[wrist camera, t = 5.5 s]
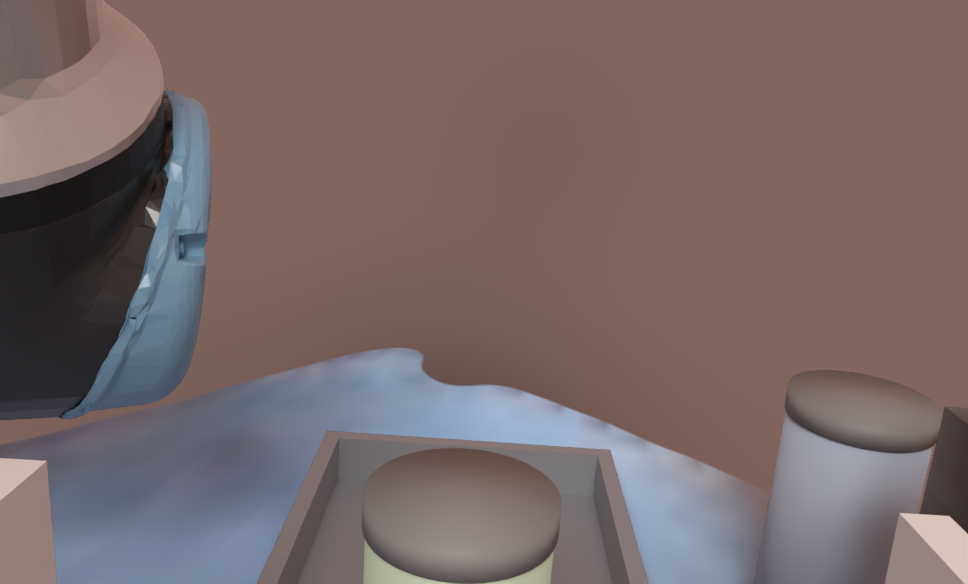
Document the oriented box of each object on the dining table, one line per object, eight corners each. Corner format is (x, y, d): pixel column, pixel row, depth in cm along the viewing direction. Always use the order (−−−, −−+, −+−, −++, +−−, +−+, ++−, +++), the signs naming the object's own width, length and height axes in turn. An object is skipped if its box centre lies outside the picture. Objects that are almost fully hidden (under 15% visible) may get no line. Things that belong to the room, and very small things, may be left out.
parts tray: (653, 717, 32) (665, 642, 31) (243, 690, 32) (242, 613, 31) (603, 505, 48) (610, 449, 47) (326, 486, 48) (327, 430, 47)
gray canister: (729, 654, 36) (775, 401, 33) (759, 587, 41) (802, 360, 38) (873, 713, 33) (939, 443, 30) (887, 633, 38) (946, 393, 35)
